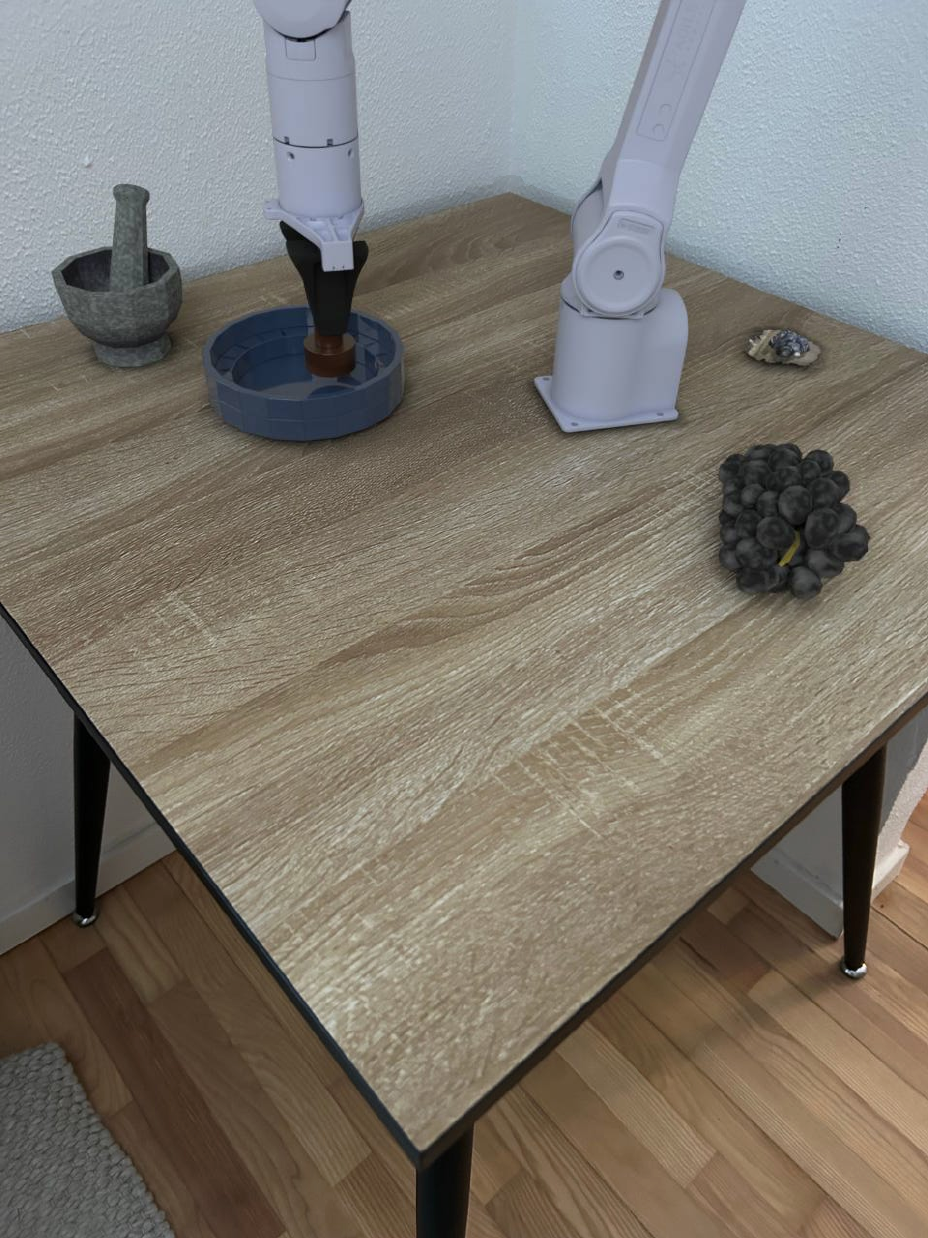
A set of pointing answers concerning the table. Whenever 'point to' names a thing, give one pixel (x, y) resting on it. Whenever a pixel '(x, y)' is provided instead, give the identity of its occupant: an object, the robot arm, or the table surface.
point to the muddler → (329, 354)
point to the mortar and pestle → (123, 289)
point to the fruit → (786, 520)
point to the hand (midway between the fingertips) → (329, 324)
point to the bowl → (300, 376)
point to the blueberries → (783, 348)
